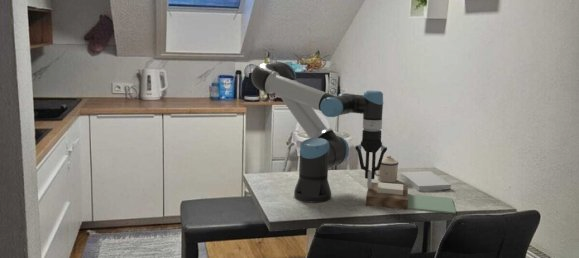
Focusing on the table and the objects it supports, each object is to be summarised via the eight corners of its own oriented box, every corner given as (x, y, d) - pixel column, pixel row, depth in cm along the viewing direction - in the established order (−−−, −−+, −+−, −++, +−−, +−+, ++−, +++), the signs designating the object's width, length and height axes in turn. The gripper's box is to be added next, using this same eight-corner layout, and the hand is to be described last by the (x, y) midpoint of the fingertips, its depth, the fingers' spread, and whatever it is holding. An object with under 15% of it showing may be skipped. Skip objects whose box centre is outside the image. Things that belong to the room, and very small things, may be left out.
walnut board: (365, 205, 206) (366, 196, 206) (368, 191, 226) (369, 182, 225) (407, 209, 203) (408, 200, 202) (406, 194, 222) (407, 185, 222)
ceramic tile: (377, 192, 210) (377, 187, 210) (378, 186, 218) (378, 182, 218) (402, 194, 209) (403, 190, 208) (402, 189, 216) (403, 184, 216)
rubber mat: (407, 209, 204) (407, 207, 204) (406, 195, 221) (407, 193, 221) (455, 213, 200) (455, 212, 200) (451, 199, 218) (451, 197, 218)
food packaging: (450, 191, 231) (429, 178, 250) (450, 184, 230) (430, 171, 249) (418, 193, 228) (399, 179, 247) (418, 186, 227) (400, 172, 246)
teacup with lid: (390, 176, 249) (392, 152, 247) (401, 182, 240) (402, 157, 238) (368, 178, 245) (369, 154, 243) (377, 184, 236) (379, 158, 234)
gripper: (354, 130, 208) (352, 187, 212) (388, 132, 205) (385, 190, 210) (356, 127, 215) (354, 182, 220) (388, 128, 213) (385, 185, 217)
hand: (369, 186), depth 215 cm, fingers closed
